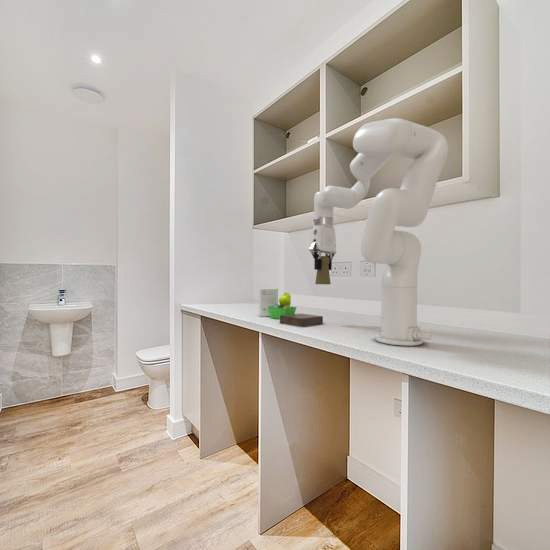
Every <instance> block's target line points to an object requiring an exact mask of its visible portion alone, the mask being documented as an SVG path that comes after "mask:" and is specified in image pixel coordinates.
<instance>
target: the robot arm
mask: <svg viewBox="0 0 550 550" xmlns="http://www.w3.org/2000/svg"><path fill="white" fill-rule="evenodd" d="M352 147H353V149H354V151H355V152H356V153H357V155H355V156H354V158H353V159H352V160H351V161H350V163H349V170H350V173H351V174H352V175H353V177H354V178H355V179H356V180H357V181H356V183H354V184H353V186H351V187H350V188H349V187H344V186H337V185H327V186H325V187H324V188H323V189H322V190H319V191H316V192H315V194H314V196H313V227H312V233H311V245H310V247H309V249H308V251H309V252H310V254H311V255H312V258H313V260H314V268H313V269H314V270H316V271H317V270H321V269H322V259H320V258H321V256H322V255H323V254H324V256H327V257H329V259H330V263H329V264H328V266H329V271H332V268H333V267H332V266H333V263H332V262H333V260H334V257H335V255H336V253H337V239H336V238H337V237H336V230H335V227H334V208H338V209H344V210H349V209H352V208H354V207H356V206H357V205H358V204H359V203H360V202H362V201H363V200H364V198H365V197H366V196H367V194H368V192H369V190H370V187H371V178H372V177H374V176H375V175H376V174H377V172H378V171H380V169H381V168H382V167H383V166H384V165H385V164H387V162H388V161H390V159H391V158H392V157H393V156H399V157H403V158H407V159H410V160H413V162H412V163H411V164H410V165H409V166H408V168H407V169H406V170H405V172H404V175H403V178H402V182H401V184H400V188H394V187H389V188H385V189H382V190H380V191H379V193H377V194H376V196H375V197H374V199H373V200H372V202H371V204H370V207H369V212H368V213H367V219H366V222H365V225H364V230H363V234H362V237H361V242H360V252H361V255H362V257H363V259H364V260H365V261H367V262H369V263H371V264H378V265H386V266H385V268H384V270H383V273H382V276H381V283H380V284H381V285H380V287H381V288H380V289H381V291H380V294H381V295H380V297H381V298H380V299H381V300H380V305H381V306H380V313H381V314H380V333H379V334H376V335H375V341H377V342H379V343H382V344H386V345H394V346H407V347H409V346H411V347H412V346H420V345H422V344H423V343H424V341H425V340H426V341H431V340H432V338H433V337H432V333H431V332H428V331H422V330H421V326H418V271H419V264H420V259H421V254H422V244H421V241H420V239H419V238H418V237H417V236H416V235H415V234H413V233H411V232H408V231H404V230H395V229H396V227H402V228H403V227H404V228H417V227H418V226H421V225H422V224H423V223H424V221H425V220H426V218H427V214H428V212H429V209H430V206H431V203H432V199H433V197H434V194H435V190H436V187H437V184H438V181H439V177H440V176H441V173H442V170H443V168H444V165H445V163H446V160H447V158H448V154H449V144H448V141H447V139H446V137H445V136H444V135H443V134H442V133H440V132H439V131H437V130H435V129H433V128H431V127H429V126H427V125H423V124H420V123H416V122H413V121H411V120H407V119H405V118H400V117H393V118H386V119H380V120H375V121H370V122H367V123H365V124H363V125H362V126H360V127H359V128H358V130H356V132H355V134H354V136H353V139H352ZM322 253H323V254H322Z"/></svg>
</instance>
